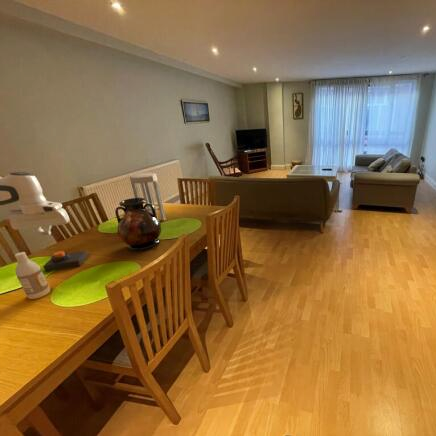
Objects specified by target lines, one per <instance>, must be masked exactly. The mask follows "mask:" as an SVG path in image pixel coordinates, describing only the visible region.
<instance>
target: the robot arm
mask: <svg viewBox="0 0 436 436" xmlns="http://www.w3.org/2000/svg"><path fill="white" fill-rule="evenodd" d="M12 203H18V206H19V208H16V209H13V208H12V209H10V210H8V211H7V212H6V215H7V218H8V219H9V223H10V227H11V228H12V229H13V230H14V231H17V230H18V231H19V230H26V229H34V228H35V230H36V231H38V233H40V235H41V236H49V235H51V234H52V232H51V229H52V227H53V226H61V225H62V226H63V225H66V224H68V223H69V222H70V217H69V214H68V212H67V211H66V209H65V208H64V207H63V204H62V203H61V202H57V201H50V200H47V198H46V197H45V196H44V194H43V188H42V185H41V184H40V182H39V180H38V178H37V176H35V174H33V173H31V172H24V171H14V172H9V173H8V174H7V175H0V206H5V205H9V204H12ZM43 227H44V228H45V229H46V230H44V229H43Z"/></svg>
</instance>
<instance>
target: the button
mask: <svg viewBox="0 0 436 436" xmlns="http://www.w3.org/2000/svg"><path fill="white" fill-rule="evenodd" d="M64 252H65V251H64V250H58V251H56V252H54V253H53V256H54V257H55V258H60V257H63V256H65V253H64Z"/></svg>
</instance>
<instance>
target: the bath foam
mask: <svg viewBox="0 0 436 436" xmlns="http://www.w3.org/2000/svg"><path fill="white" fill-rule="evenodd" d="M14 257H15V260H16V261H17V264H16V268H15V276H16V278H17V280H18V282H19V284H20V286H21V287H22V289H23V291H24V293H25V295H26V297H27V298H28V300H36V299H40V298H42V297H43V298H44V297H45V296H46V295H48V294H49V293H50V292H51V288H50V285H49V283H48V281H47V279H46V277H45V275H44V272H43V271H42V268H41V267H40V265H39V264H38V263H36V262H35V261H32V260H30V259H29V257H28V255H27V253H26V252H25V251H21V252H18V253H14Z"/></svg>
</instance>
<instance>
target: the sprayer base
mask: <svg viewBox="0 0 436 436" xmlns="http://www.w3.org/2000/svg"><path fill="white" fill-rule="evenodd" d="M64 253H65V256H63V257H60V258H55V257H54V255H52V256H51V257H50V259H49V260H48V261H46V262H45V264H44V265H43V269H44V271H45V272H52V271H57V270H64V269H71V268H76V267H77V268H78V267H81V266H82V264H83V263H84V262H85V261H86V260H87V258H88V257H89V253H88V251H87V250H82V251H75V252H68V251H67V252H66V251H64Z"/></svg>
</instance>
